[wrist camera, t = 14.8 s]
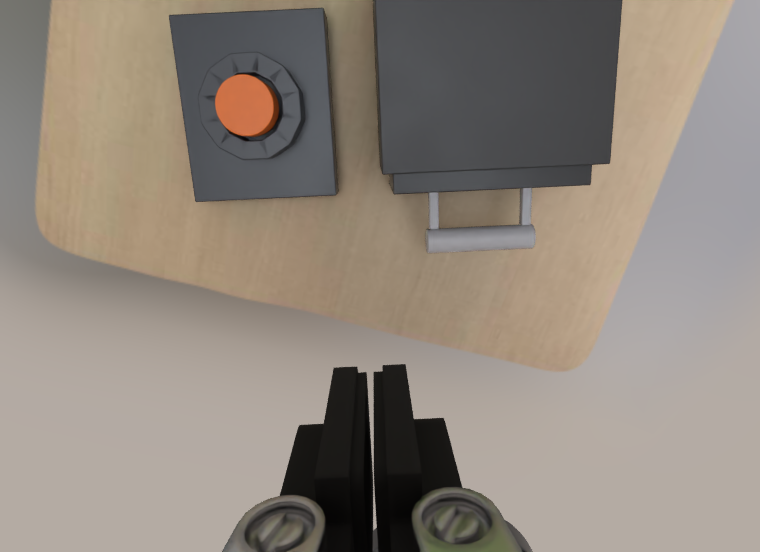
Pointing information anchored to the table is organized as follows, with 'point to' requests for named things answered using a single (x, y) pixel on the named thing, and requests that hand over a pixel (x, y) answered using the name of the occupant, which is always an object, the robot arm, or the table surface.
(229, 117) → the button
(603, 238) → the table surface
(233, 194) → the control pad
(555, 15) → the drawer cabinet casing
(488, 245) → the drawer with pull handle
